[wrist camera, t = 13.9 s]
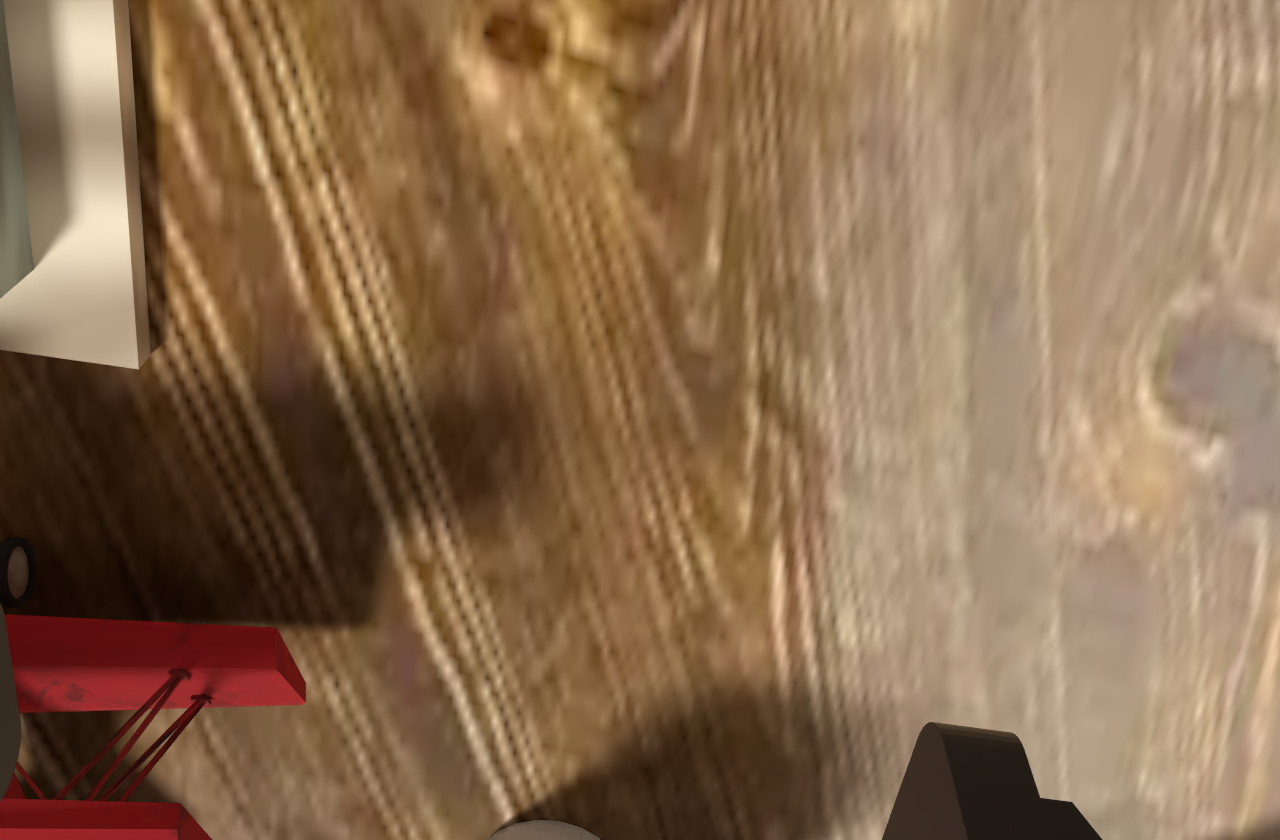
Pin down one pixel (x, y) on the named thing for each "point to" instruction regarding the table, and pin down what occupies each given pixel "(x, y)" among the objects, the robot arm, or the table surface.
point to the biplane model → (126, 699)
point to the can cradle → (70, 184)
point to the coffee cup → (543, 831)
